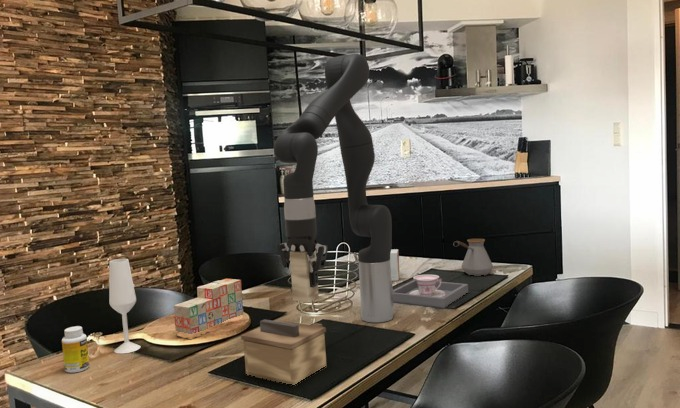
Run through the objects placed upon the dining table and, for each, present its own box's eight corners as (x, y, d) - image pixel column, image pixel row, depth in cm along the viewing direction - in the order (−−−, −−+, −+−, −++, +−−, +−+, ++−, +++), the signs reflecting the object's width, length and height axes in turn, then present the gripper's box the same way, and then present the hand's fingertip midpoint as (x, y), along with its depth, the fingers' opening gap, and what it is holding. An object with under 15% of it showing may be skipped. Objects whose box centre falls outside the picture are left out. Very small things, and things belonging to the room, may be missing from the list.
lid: (281, 321, 143) (280, 308, 143) (330, 329, 135) (329, 315, 134) (241, 339, 131) (240, 325, 131) (291, 349, 123) (290, 333, 123)
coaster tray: (415, 287, 202) (414, 279, 201) (468, 293, 191) (467, 284, 190) (387, 302, 186) (387, 292, 185) (444, 308, 175) (443, 298, 174)
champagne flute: (145, 347, 155) (137, 259, 153) (122, 355, 150) (113, 264, 148) (132, 342, 160) (124, 257, 157) (109, 350, 154) (100, 261, 152)
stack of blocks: (191, 340, 159) (187, 296, 158) (175, 337, 163) (171, 294, 161) (244, 318, 177) (241, 279, 176) (229, 316, 180) (226, 277, 179)
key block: (303, 295, 145) (300, 248, 144) (318, 297, 142) (315, 249, 141) (293, 300, 141) (289, 252, 140) (308, 302, 139) (304, 252, 137)
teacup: (410, 301, 183) (409, 282, 182) (407, 291, 195) (406, 273, 194) (448, 299, 182) (447, 280, 182) (443, 290, 194) (442, 272, 194)
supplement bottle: (84, 372, 139) (80, 331, 138) (61, 374, 139) (56, 333, 138) (93, 364, 145) (89, 324, 144) (70, 365, 145) (66, 325, 144)
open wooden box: (279, 357, 142) (277, 325, 141) (326, 366, 134) (324, 333, 133) (246, 374, 132) (243, 340, 131) (294, 386, 124) (291, 349, 123)
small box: (398, 281, 213) (397, 252, 212) (383, 281, 214) (382, 253, 213) (400, 276, 221) (398, 248, 220) (385, 276, 222) (384, 249, 221)
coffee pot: (470, 269, 225) (469, 231, 224) (498, 272, 218) (497, 232, 216) (442, 281, 209) (441, 240, 207) (471, 284, 201) (470, 242, 200)
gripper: (333, 214, 139) (337, 284, 141) (286, 213, 147) (290, 280, 148) (315, 219, 133) (320, 292, 134) (267, 218, 140) (272, 287, 142)
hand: (304, 285), depth 141 cm, fingers closed on key block, 4 cm apart
